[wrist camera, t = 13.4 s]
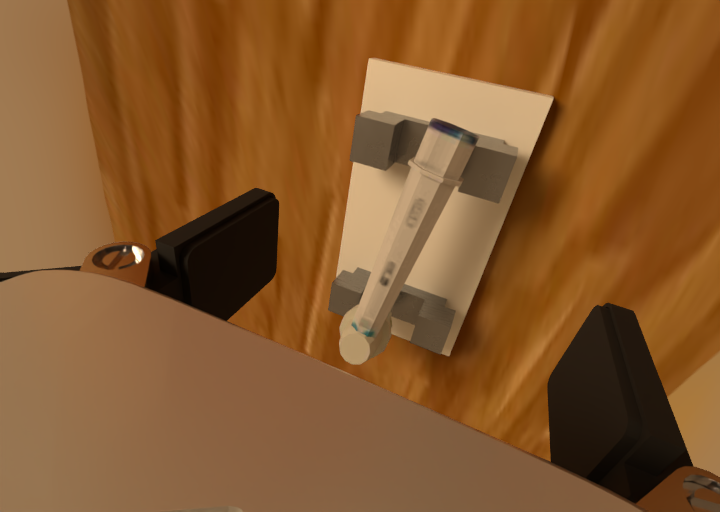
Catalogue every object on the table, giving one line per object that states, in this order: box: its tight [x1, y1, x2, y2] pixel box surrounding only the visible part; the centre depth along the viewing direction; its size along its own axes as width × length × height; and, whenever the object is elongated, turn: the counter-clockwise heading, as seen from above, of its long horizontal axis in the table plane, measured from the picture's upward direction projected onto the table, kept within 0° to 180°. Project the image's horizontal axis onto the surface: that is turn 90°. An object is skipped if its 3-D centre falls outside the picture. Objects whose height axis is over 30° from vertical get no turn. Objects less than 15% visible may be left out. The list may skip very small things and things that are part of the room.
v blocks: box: [328, 110, 518, 355], centre depth 38 cm, size 22×14×4 cm, turn 171°
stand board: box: [336, 58, 554, 356], centre depth 41 cm, size 30×16×2 cm, turn 171°
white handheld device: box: [339, 118, 479, 364], centre depth 35 cm, size 5×7×25 cm
